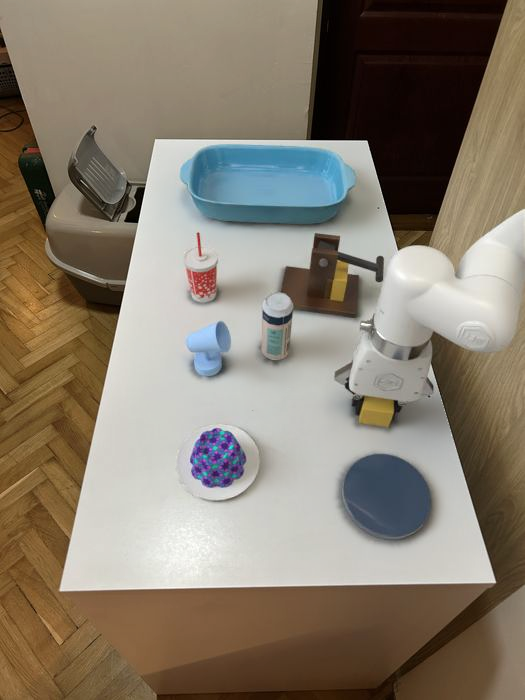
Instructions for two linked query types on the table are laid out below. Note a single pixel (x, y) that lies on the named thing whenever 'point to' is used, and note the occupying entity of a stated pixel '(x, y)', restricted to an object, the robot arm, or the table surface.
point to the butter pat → (376, 411)
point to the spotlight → (209, 347)
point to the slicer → (320, 282)
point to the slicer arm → (358, 261)
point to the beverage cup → (201, 271)
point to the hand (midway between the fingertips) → (374, 408)
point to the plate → (386, 496)
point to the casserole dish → (267, 183)
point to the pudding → (217, 462)
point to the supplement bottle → (276, 325)
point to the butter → (338, 282)
